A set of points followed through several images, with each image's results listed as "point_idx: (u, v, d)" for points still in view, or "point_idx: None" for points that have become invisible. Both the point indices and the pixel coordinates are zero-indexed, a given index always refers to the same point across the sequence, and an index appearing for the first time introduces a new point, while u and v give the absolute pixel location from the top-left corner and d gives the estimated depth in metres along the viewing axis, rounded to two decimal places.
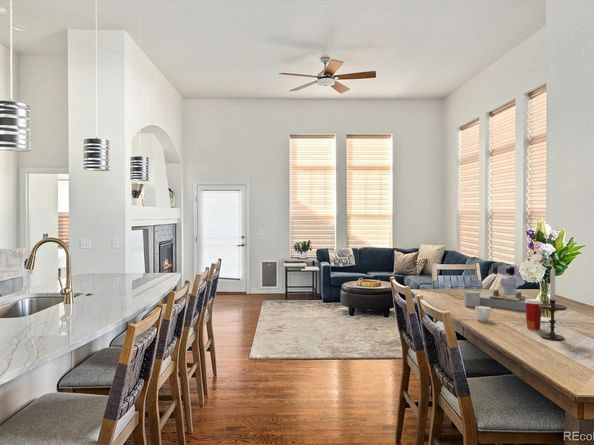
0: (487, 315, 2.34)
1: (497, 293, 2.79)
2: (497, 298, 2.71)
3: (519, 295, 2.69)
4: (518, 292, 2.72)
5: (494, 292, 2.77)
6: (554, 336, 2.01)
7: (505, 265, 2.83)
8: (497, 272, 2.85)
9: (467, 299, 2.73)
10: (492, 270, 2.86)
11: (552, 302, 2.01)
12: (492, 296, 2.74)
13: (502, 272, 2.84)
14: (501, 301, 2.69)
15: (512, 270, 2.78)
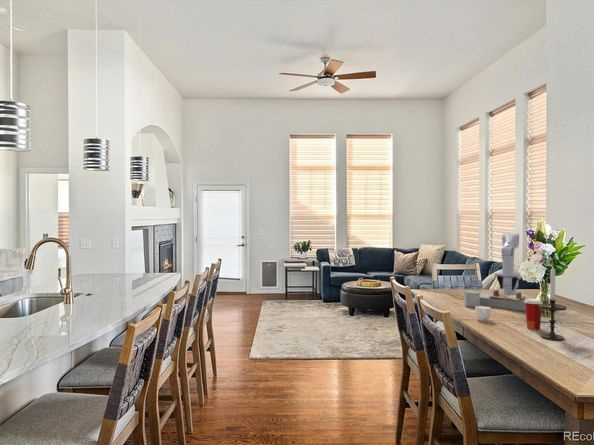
0: (487, 315, 2.34)
1: (497, 293, 2.79)
2: (497, 298, 2.71)
3: (519, 295, 2.69)
4: (518, 292, 2.72)
5: (494, 292, 2.77)
6: (554, 336, 2.01)
7: (506, 275, 2.72)
8: None
9: (467, 299, 2.73)
10: None
11: (552, 302, 2.01)
12: (492, 296, 2.74)
13: None
14: (501, 301, 2.69)
15: None
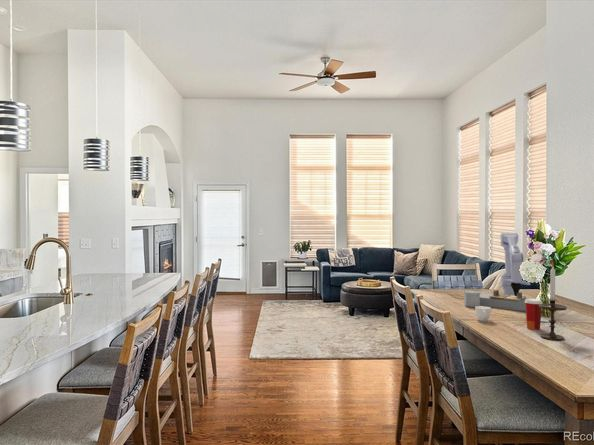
0: (487, 315, 2.34)
1: (497, 293, 2.79)
2: (497, 298, 2.71)
3: (520, 295, 2.69)
4: (519, 292, 2.72)
5: (494, 292, 2.77)
6: (554, 336, 2.01)
7: (515, 282, 2.69)
8: None
9: (467, 299, 2.73)
10: (504, 282, 2.76)
11: (552, 302, 2.01)
12: (492, 296, 2.74)
13: None
14: (501, 301, 2.69)
15: None
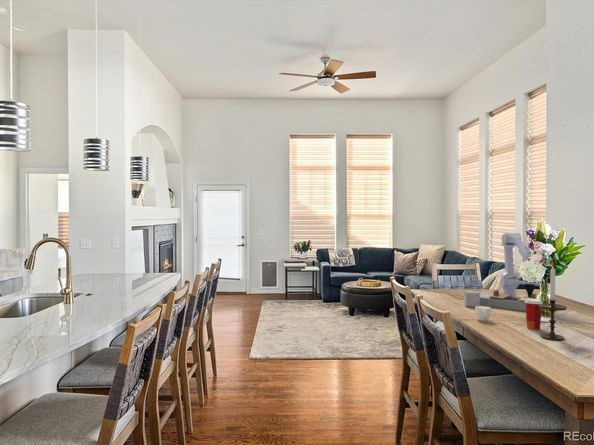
0: (487, 315, 2.34)
1: (497, 293, 2.79)
2: (497, 298, 2.71)
3: (534, 297, 2.64)
4: None
5: (494, 292, 2.77)
6: (554, 336, 2.01)
7: (529, 283, 2.64)
8: None
9: (467, 299, 2.73)
10: (517, 283, 2.71)
11: (552, 302, 2.01)
12: (492, 296, 2.74)
13: None
14: (501, 301, 2.69)
15: None
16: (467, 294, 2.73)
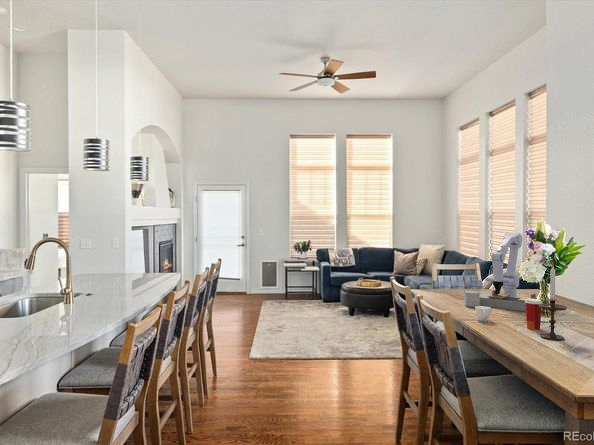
0: (487, 315, 2.34)
1: None
2: (496, 298, 2.72)
3: (534, 297, 2.64)
4: None
5: (493, 292, 2.77)
6: (554, 336, 2.01)
7: (497, 280, 2.76)
8: None
9: (467, 299, 2.73)
10: (487, 280, 2.83)
11: (552, 302, 2.01)
12: (491, 296, 2.75)
13: None
14: (501, 301, 2.69)
15: (500, 283, 2.77)
16: (467, 294, 2.73)
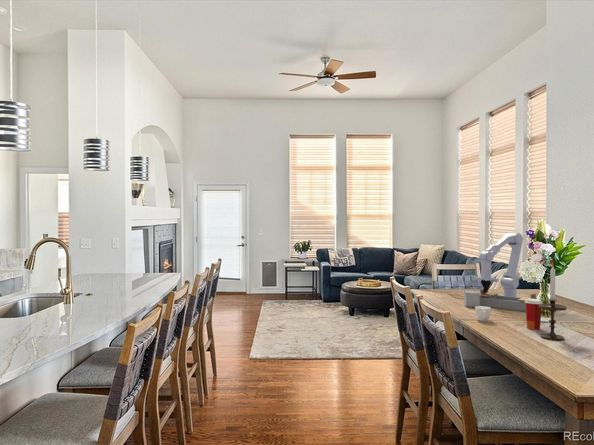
0: (487, 315, 2.34)
1: None
2: (484, 296, 2.76)
3: (534, 297, 2.64)
4: None
5: (481, 291, 2.82)
6: (554, 336, 2.01)
7: (485, 279, 2.80)
8: None
9: (467, 299, 2.73)
10: (475, 279, 2.88)
11: (552, 302, 2.01)
12: None
13: None
14: (501, 301, 2.69)
15: None
16: (467, 294, 2.73)
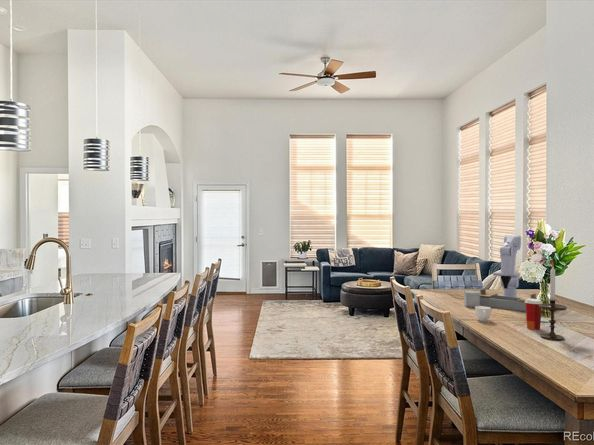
0: (487, 315, 2.34)
1: (484, 292, 2.84)
2: (483, 296, 2.76)
3: (534, 297, 2.64)
4: None
5: (481, 291, 2.82)
6: (554, 336, 2.01)
7: (505, 274, 2.76)
8: None
9: (467, 299, 2.73)
10: (494, 275, 2.84)
11: (552, 302, 2.01)
12: None
13: None
14: (501, 301, 2.69)
15: None
16: (467, 294, 2.73)
